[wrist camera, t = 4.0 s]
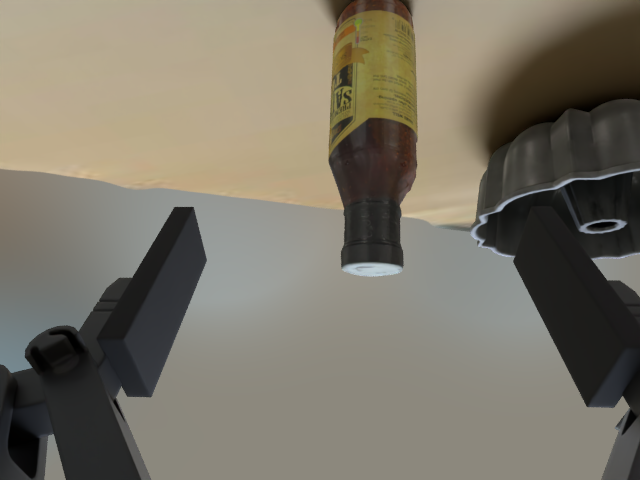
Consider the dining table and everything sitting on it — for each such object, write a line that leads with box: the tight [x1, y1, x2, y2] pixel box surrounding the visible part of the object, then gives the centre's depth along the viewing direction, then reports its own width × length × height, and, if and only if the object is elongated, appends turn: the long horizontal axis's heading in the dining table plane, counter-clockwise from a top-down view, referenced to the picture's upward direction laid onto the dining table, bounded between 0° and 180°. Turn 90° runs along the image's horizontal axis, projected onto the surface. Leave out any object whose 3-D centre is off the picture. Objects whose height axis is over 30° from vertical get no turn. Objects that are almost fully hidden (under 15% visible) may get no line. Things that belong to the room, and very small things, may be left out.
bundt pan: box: [470, 99, 640, 260], centre depth 46 cm, size 26×26×10 cm
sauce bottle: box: [329, 0, 418, 276], centre depth 30 cm, size 6×6×20 cm
